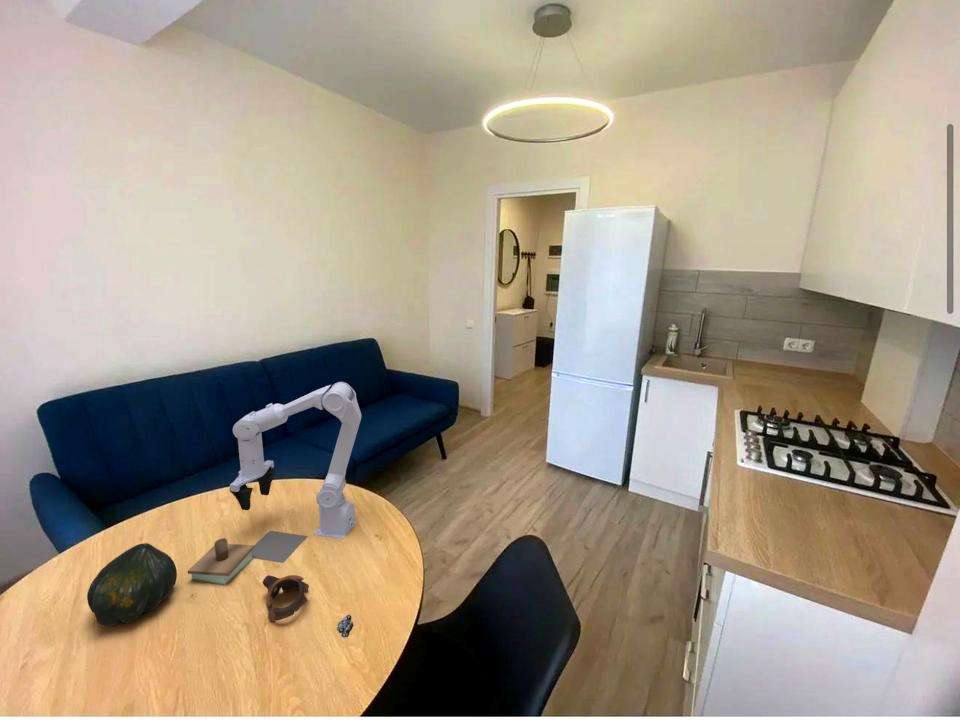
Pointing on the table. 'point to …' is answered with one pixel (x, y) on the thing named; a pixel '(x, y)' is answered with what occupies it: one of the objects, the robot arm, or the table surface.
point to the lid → (221, 559)
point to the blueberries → (345, 626)
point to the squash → (131, 585)
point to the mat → (277, 546)
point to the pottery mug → (286, 585)
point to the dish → (222, 579)
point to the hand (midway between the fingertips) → (255, 501)
